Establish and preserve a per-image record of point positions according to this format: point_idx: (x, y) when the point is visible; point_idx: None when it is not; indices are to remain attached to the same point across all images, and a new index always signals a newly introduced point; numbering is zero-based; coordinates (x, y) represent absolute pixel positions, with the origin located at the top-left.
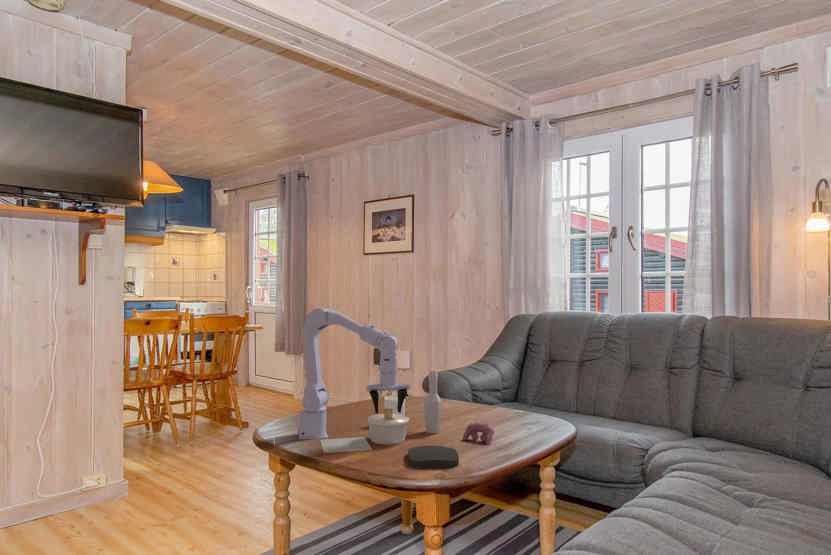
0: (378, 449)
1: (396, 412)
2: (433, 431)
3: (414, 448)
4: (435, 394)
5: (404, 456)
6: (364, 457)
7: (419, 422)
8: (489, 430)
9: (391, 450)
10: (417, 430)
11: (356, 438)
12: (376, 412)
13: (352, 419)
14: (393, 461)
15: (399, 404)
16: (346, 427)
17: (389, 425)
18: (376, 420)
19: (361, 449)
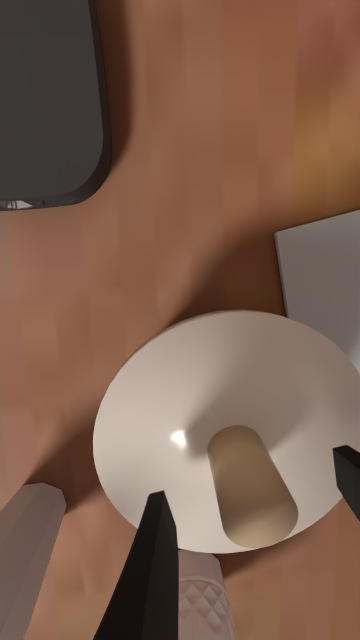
0: (246, 259)
1: (186, 630)
2: (29, 491)
3: (69, 151)
4: None
5: (128, 148)
6: (309, 128)
7: (102, 604)
8: None
9: (191, 246)
10: (101, 518)
11: None
12: (354, 449)
13: (330, 611)
14: (176, 56)
15: (154, 577)
16: (356, 530)
17: (223, 310)
18: (315, 394)
19: (322, 234)
